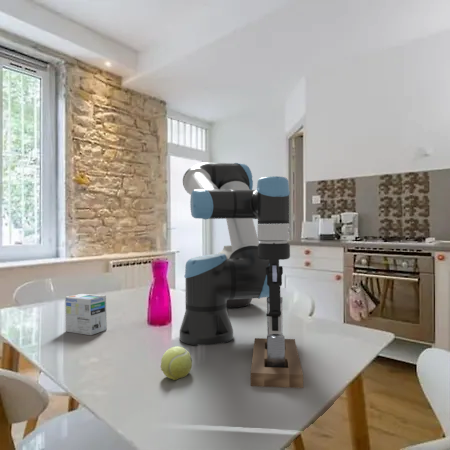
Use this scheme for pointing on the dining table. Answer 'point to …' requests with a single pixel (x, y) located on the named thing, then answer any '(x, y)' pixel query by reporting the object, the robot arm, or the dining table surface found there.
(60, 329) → the dining table surface
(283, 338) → the seated stud
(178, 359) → the tennis ball
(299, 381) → the socket board
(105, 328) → the light bulb box
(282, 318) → the stud
